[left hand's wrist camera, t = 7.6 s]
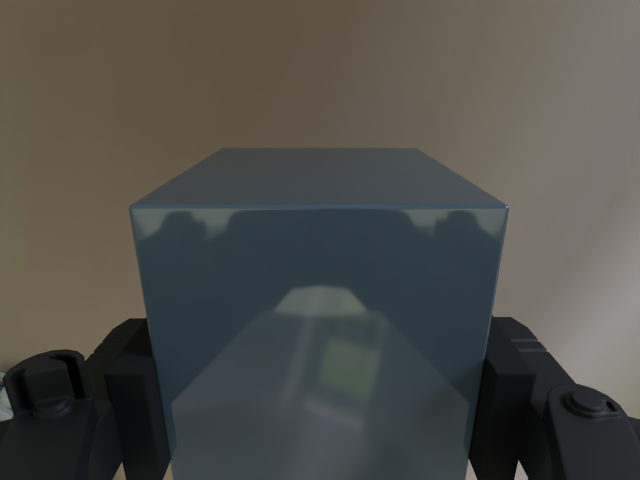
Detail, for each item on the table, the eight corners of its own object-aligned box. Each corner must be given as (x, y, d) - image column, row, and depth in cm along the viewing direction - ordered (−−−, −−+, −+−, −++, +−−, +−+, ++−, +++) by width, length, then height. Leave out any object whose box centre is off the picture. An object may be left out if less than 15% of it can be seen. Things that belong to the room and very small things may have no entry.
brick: (239, 370, 17) (184, 560, 10) (221, 147, 14) (126, 205, 7) (400, 370, 17) (453, 560, 10) (417, 147, 14) (511, 205, 7)
